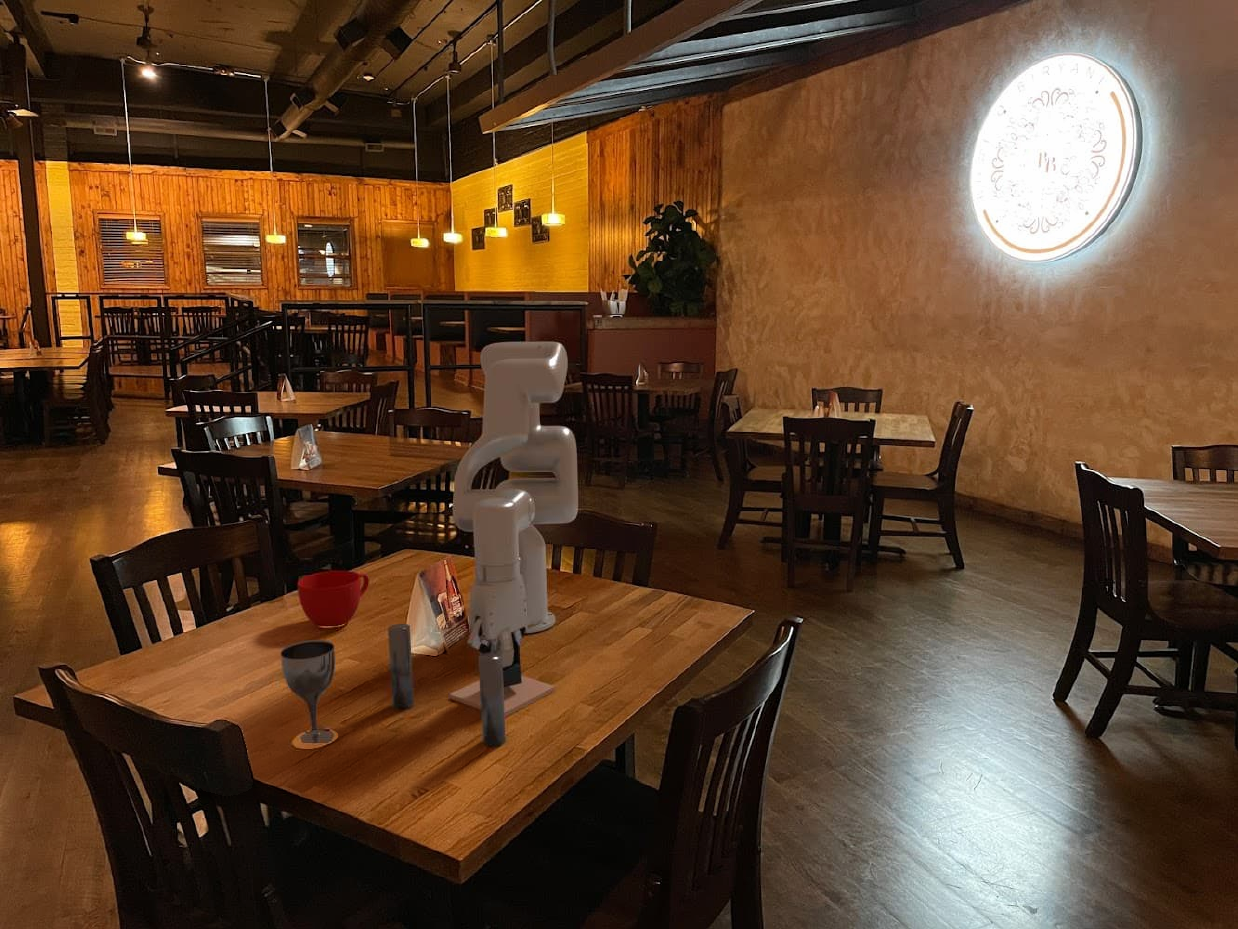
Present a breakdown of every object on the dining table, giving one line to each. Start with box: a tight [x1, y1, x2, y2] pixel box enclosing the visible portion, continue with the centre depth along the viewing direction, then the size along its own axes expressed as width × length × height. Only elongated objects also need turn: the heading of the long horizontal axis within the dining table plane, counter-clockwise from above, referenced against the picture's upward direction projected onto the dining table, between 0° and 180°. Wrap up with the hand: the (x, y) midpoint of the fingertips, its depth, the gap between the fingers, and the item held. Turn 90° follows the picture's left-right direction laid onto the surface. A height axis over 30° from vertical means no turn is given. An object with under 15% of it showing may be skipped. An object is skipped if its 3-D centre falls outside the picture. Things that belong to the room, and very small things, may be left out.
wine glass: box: [280, 639, 336, 744], centre depth 140 cm, size 8×8×15 cm
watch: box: [480, 628, 522, 688], centre depth 155 cm, size 6×8×11 cm
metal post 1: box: [387, 623, 415, 711], centre depth 151 cm, size 4×4×14 cm
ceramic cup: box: [297, 570, 370, 627], centre depth 194 cm, size 13×17×10 cm
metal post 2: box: [478, 653, 507, 748], centre depth 138 cm, size 4×4×14 cm
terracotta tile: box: [449, 674, 556, 718], centre depth 156 cm, size 13×13×1 cm
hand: (502, 669), depth 155 cm, fingers closed on watch, 4 cm apart
